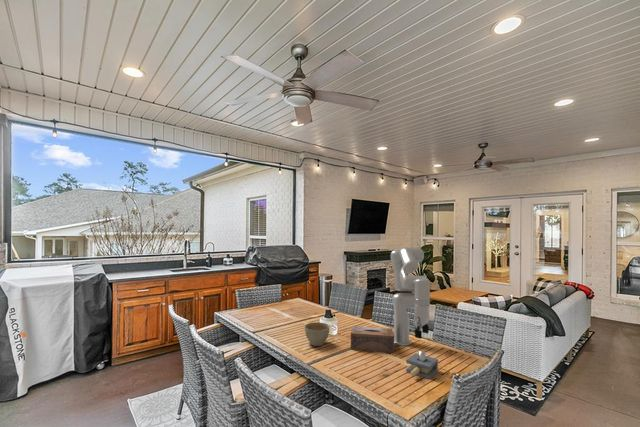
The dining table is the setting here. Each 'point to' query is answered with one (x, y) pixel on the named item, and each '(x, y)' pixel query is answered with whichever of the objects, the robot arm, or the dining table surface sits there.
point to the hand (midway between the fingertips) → (421, 335)
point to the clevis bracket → (422, 366)
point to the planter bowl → (317, 333)
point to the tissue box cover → (372, 339)
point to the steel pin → (422, 356)
